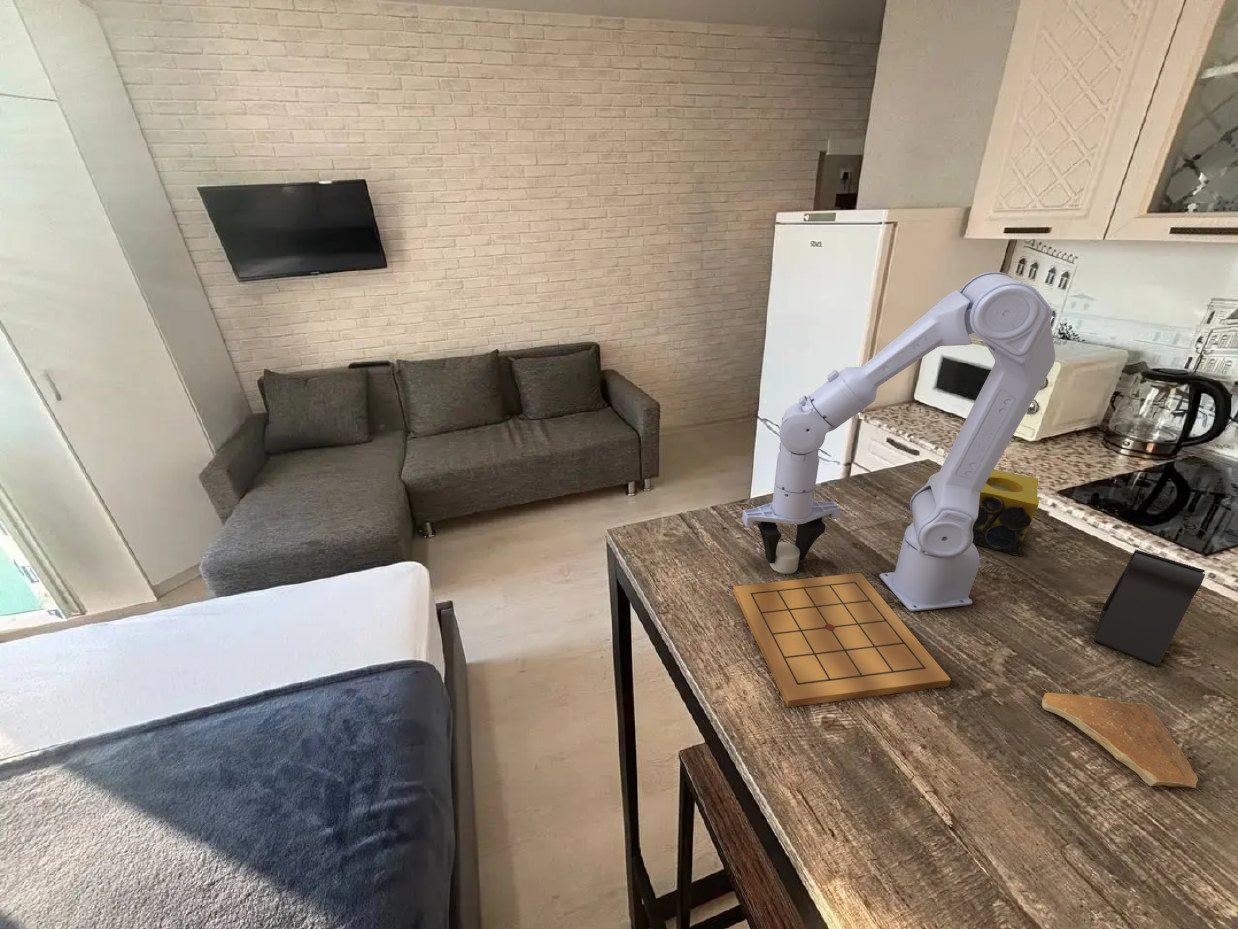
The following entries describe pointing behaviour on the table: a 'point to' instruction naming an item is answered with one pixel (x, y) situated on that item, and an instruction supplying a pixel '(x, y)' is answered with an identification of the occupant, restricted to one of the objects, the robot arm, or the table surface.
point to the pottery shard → (1127, 736)
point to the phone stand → (1147, 606)
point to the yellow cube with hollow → (1005, 511)
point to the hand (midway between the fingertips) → (784, 558)
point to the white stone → (786, 558)
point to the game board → (834, 640)
